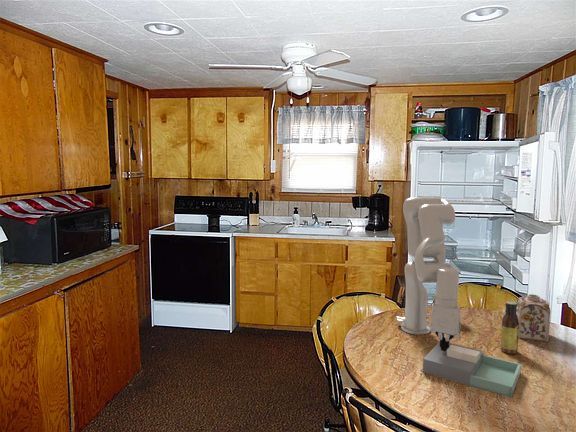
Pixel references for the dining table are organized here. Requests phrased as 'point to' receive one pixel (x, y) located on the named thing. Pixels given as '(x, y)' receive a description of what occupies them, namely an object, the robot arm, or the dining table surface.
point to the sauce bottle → (510, 329)
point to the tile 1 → (455, 351)
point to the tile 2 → (470, 355)
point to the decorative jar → (533, 318)
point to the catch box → (497, 376)
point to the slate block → (450, 365)
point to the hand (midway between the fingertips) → (444, 349)
